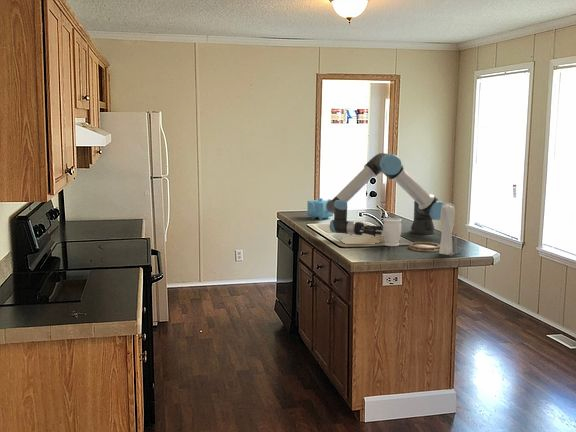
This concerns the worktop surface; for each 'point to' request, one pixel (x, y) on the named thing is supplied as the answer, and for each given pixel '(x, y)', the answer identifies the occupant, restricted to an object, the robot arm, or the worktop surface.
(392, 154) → the robot arm
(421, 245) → the coaster
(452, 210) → the skyscraper
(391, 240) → the jar
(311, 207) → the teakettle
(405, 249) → the worktop surface
